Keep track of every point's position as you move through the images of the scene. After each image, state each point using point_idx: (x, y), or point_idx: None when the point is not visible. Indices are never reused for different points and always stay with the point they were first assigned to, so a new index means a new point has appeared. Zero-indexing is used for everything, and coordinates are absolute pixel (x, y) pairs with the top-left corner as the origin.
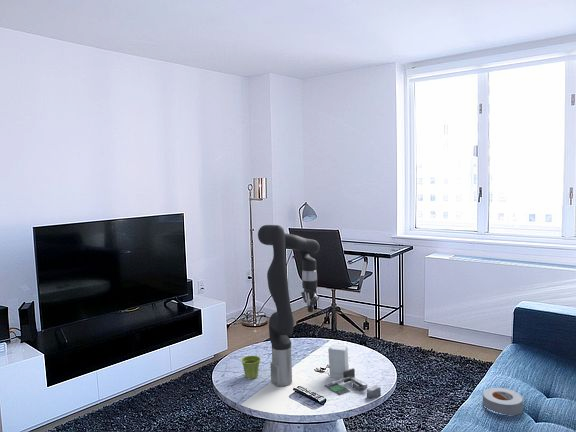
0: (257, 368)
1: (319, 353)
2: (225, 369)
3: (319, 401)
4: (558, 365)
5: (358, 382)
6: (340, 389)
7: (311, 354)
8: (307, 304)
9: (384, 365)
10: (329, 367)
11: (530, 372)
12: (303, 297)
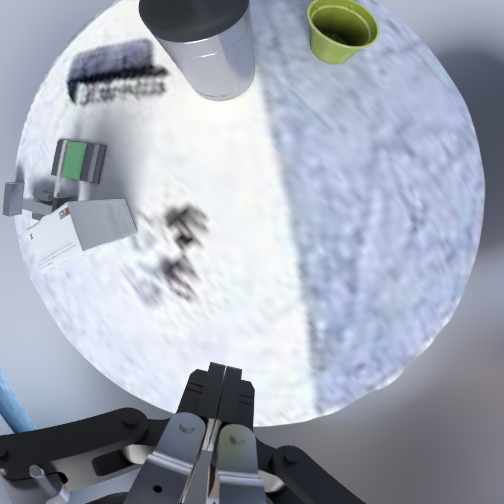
0: (312, 35)
1: (280, 331)
2: (419, 55)
3: (78, 83)
4: (14, 429)
5: (35, 201)
6: (65, 159)
7: (297, 308)
8: (233, 427)
9: (92, 355)
10: (108, 199)
11: (6, 405)
12: (341, 501)
